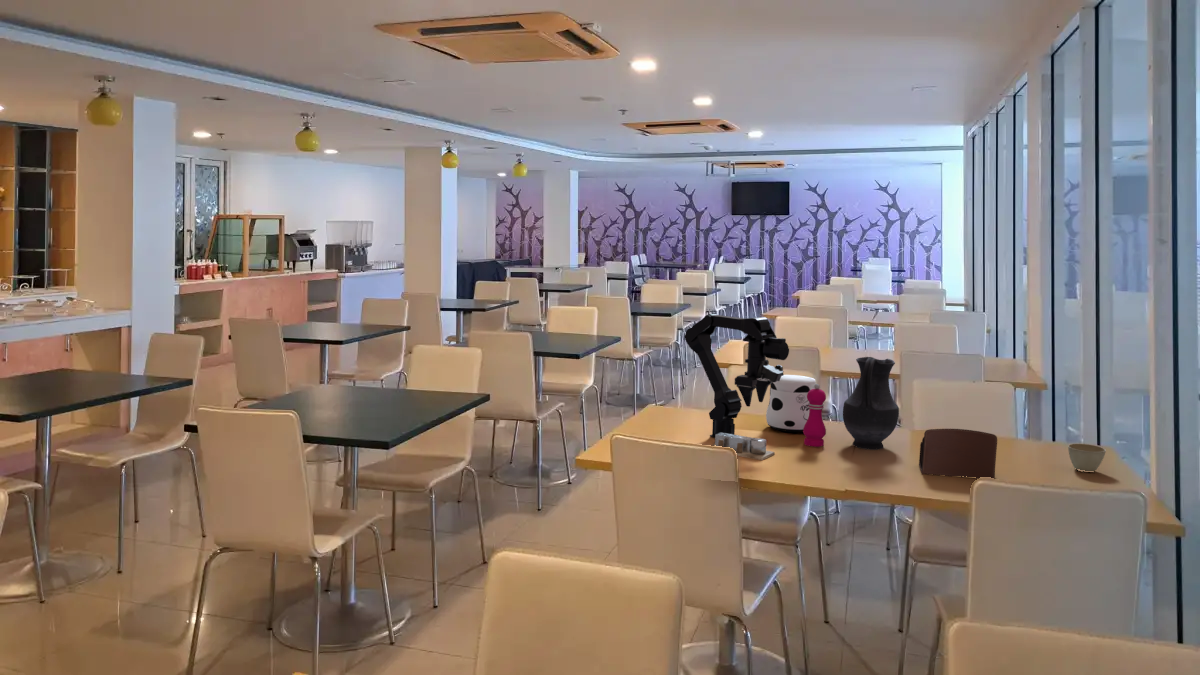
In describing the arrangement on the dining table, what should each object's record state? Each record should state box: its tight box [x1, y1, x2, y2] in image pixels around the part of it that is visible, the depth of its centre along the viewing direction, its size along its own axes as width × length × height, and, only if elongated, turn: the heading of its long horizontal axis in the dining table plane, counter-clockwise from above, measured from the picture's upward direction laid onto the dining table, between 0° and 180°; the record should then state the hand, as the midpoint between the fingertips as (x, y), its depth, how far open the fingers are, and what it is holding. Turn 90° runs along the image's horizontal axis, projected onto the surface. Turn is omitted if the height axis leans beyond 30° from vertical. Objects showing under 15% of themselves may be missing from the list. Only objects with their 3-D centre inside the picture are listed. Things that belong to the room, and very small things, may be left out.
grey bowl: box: [1067, 443, 1107, 472], centre depth 278 cm, size 10×10×7 cm
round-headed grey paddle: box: [714, 432, 767, 455], centre depth 290 cm, size 16×5×4 cm, turn 55°
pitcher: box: [842, 356, 900, 451], centre depth 299 cm, size 17×21×30 cm
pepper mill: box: [803, 383, 827, 448], centre depth 302 cm, size 7×7×20 cm
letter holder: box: [918, 428, 998, 480], centre depth 272 cm, size 10×20×14 cm, turn 76°
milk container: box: [765, 374, 817, 433], centre depth 323 cm, size 17×17×18 cm
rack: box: [713, 439, 776, 461], centre depth 290 cm, size 19×9×4 cm, turn 55°
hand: (754, 404), depth 301 cm, fingers open, 9 cm apart
